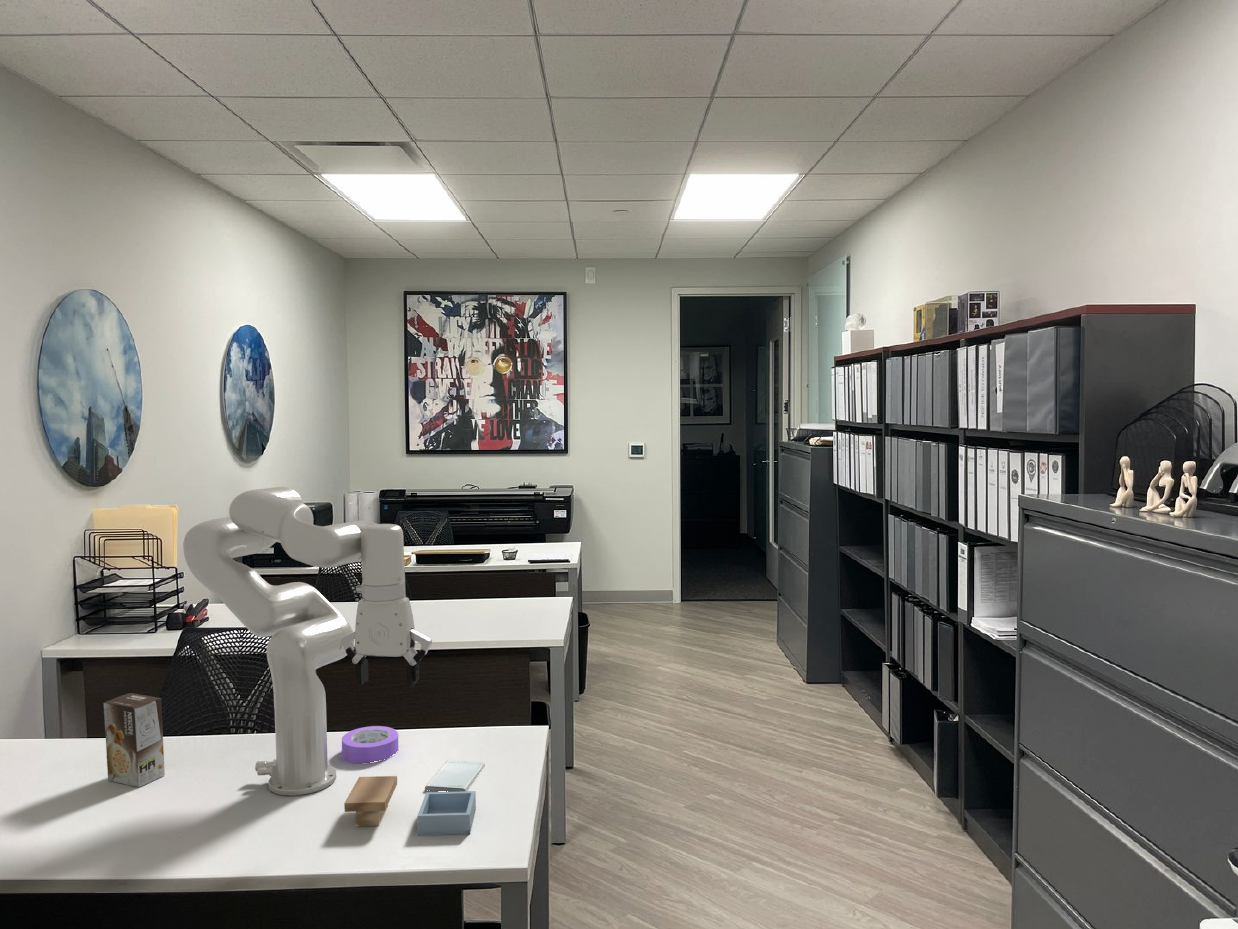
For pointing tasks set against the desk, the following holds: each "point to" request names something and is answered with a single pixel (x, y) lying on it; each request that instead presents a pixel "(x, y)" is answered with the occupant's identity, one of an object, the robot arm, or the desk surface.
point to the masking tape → (369, 744)
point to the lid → (371, 794)
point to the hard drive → (455, 776)
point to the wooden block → (369, 818)
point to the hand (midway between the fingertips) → (387, 683)
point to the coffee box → (134, 739)
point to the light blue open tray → (447, 813)
